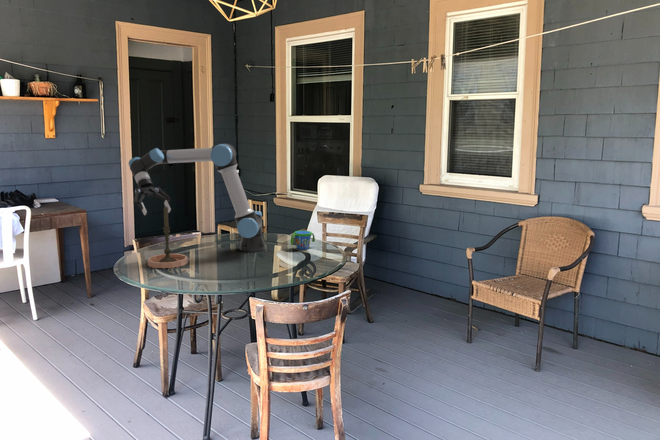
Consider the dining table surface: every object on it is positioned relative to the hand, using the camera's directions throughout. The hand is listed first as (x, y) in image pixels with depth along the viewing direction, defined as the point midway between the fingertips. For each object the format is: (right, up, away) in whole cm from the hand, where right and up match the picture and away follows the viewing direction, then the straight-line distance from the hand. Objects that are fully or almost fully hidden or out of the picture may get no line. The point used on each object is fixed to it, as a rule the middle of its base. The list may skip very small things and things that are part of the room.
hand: (157, 212), depth 280 cm
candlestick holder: (+6, -26, -1) cm, 27 cm away
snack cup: (+75, -21, +37) cm, 87 cm away
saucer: (+6, -27, -1) cm, 28 cm away
